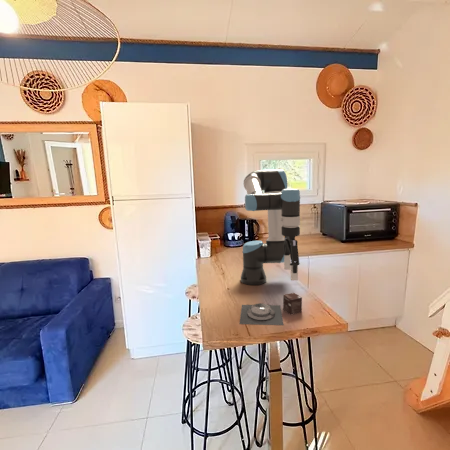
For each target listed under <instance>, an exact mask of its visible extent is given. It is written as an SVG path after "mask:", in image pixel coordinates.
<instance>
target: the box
mask: <svg viewBox="0 0 450 450" xmlns="http://www.w3.org/2000/svg"><path fill="white" fill-rule="evenodd" d="M282 296H283V299H282V301H283V303H282V304H283V305H282V307H283V308H282V309H283V310H284V311H285V312H286V313H287V314H289V315H294V314H299V313H302V309H303V307H302V306H303V304H302V303H303V297H302V296H300V295H299V294H297V293H296V292H290V293H287V294H283V295H282Z"/></svg>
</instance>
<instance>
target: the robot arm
mask: <svg viewBox="0 0 450 450" xmlns="http://www.w3.org/2000/svg"><path fill="white" fill-rule="evenodd" d="M243 187H244V189H245V190H246V193H247V194H245V196H244V208H245V209H244V210H246V211H248V212H249V211H252V212H257V211H258V212H259V211H267V230H268V232H267V234H268V235H267V236H268V237H267V239H266V240H265V243H264V242H263V241H262V240H252V241H251V240H250V241H247V242H245V243H244V244H243V245H242V270H241V275H240V282H241V283H242V284H244V285H250V286H259V285H263V284H266V282H267V275H266V271H265V269H264V264H282V263H283V265H284V266H283V267H284V269H283V270H285V271H287V270H289V271H290V281H298V280H299V266H300V265H301V263H300V257H299V249H298V248H299V247H298V240H297V239H296V237H299V236H300V234H301V227H300V225H301V214H300V213H301V211H300V209H301V192H300V189H298V188H288V177H287V174H286V171H285V170H284V169H277V168H276V169H275V168H274V169H259V170H254V171H252V172H250V173H249V174H247V175H246V176H245V177H244V180H243Z"/></svg>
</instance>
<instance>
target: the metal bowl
mask: <svg viewBox="0 0 450 450" xmlns="http://www.w3.org/2000/svg"><path fill="white" fill-rule="evenodd" d="M252 305H253V306H252V307H251V308H250V309H249V310H248V312H247V314H248V317H249V318H251V319H253V320H257V321H267V320H270V319H272V318H274V316H275V312H274V310H273V309H271V307H270V306H269V305H270V304H267V303H255V304H252Z"/></svg>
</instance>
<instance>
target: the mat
mask: <svg viewBox="0 0 450 450" xmlns="http://www.w3.org/2000/svg"><path fill="white" fill-rule="evenodd" d="M253 305H254V304H241V309H240V316H239V325H252V326H253V325H254V326H255V325H256V326H257V325H259V326H285V324H284V318H283V314H282V308H281V305H279V304H268V305H269V306H270V307H271V309H273V310H274V312H275V316H274V318H272V319H270V320H267V321H257V320H253V319H251V318H249V317H248V314H247V312H248V310H249V309H250V308H251V307H252V306H253Z"/></svg>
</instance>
